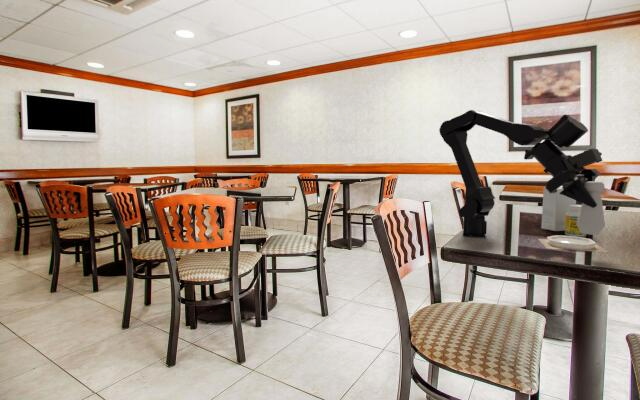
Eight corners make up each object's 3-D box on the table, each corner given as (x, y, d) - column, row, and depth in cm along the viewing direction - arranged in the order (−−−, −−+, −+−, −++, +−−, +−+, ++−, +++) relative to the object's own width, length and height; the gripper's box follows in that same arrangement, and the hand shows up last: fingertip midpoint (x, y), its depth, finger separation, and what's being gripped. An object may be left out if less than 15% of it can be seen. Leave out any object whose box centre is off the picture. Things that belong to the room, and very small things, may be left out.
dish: (552, 248, 101) (552, 242, 100) (543, 239, 111) (544, 234, 111) (600, 251, 97) (601, 245, 97) (587, 241, 107) (587, 236, 107)
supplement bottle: (581, 234, 119) (583, 204, 117) (587, 237, 114) (590, 206, 112) (562, 233, 120) (564, 204, 119) (567, 236, 115) (569, 206, 114)
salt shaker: (609, 235, 89) (614, 182, 88) (583, 235, 90) (587, 182, 89) (596, 230, 95) (600, 180, 93) (571, 230, 96) (575, 180, 94)
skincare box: (560, 227, 129) (562, 185, 127) (575, 230, 123) (578, 186, 121) (540, 228, 127) (542, 186, 125) (554, 232, 122) (557, 187, 120)
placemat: (546, 249, 101) (546, 248, 101) (537, 239, 112) (537, 238, 112) (608, 253, 96) (608, 252, 96) (592, 243, 107) (592, 241, 107)
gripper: (563, 137, 88) (615, 187, 80) (594, 138, 98) (643, 182, 91) (526, 169, 95) (571, 217, 88) (559, 166, 106) (602, 209, 98)
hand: (598, 205), depth 91 cm, fingers closed on salt shaker, 3 cm apart
